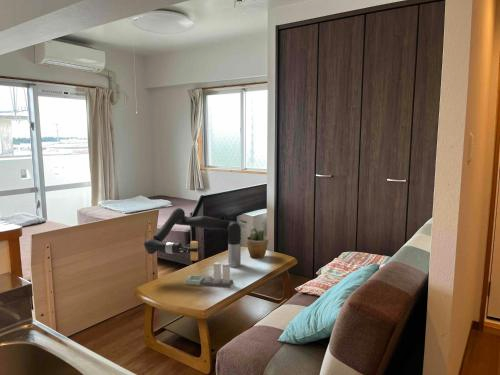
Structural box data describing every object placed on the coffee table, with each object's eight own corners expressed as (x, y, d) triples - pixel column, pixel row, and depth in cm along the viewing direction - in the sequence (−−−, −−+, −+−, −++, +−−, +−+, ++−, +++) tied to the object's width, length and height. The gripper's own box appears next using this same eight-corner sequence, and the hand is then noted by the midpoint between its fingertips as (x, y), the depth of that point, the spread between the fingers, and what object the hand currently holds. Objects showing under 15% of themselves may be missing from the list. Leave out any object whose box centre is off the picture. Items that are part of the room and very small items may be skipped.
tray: (190, 279, 256) (190, 274, 255) (204, 280, 254) (204, 275, 253) (185, 284, 246) (185, 280, 246) (199, 285, 244) (199, 281, 244)
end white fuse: (224, 280, 247) (223, 262, 246) (230, 281, 247) (229, 263, 245) (222, 282, 244) (222, 264, 243) (228, 282, 243) (228, 264, 242)
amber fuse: (192, 258, 250) (191, 240, 249) (198, 258, 249) (197, 241, 248) (190, 260, 247) (190, 242, 245) (196, 260, 246) (196, 242, 245)
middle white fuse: (215, 279, 249) (215, 262, 247) (221, 280, 248) (220, 262, 246) (213, 281, 245) (213, 263, 244) (219, 282, 245) (219, 264, 243)
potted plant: (241, 258, 302) (241, 227, 299) (254, 252, 317) (253, 223, 314) (260, 262, 291) (260, 230, 288) (272, 255, 307) (272, 225, 304)
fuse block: (205, 280, 253) (205, 274, 253) (233, 282, 249) (233, 276, 249) (201, 285, 244) (201, 279, 244) (229, 287, 241) (229, 281, 240)
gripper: (177, 250, 257) (201, 252, 254) (169, 256, 244) (194, 258, 240) (177, 239, 256) (201, 241, 253) (169, 245, 243) (194, 246, 239)
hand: (198, 249), depth 247 cm, fingers closed on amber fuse, 3 cm apart
